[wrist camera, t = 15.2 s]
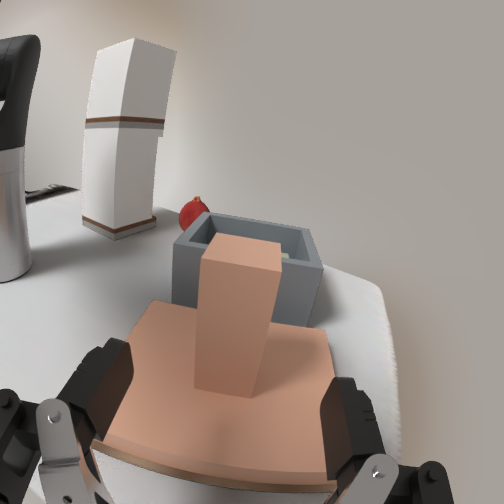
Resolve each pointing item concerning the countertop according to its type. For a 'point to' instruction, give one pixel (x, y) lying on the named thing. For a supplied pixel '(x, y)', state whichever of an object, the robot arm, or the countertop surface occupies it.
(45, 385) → the countertop surface
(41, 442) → the robot arm
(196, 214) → the pomegranate
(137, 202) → the white tall block
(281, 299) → the storage box
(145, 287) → the countertop surface
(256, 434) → the lid
